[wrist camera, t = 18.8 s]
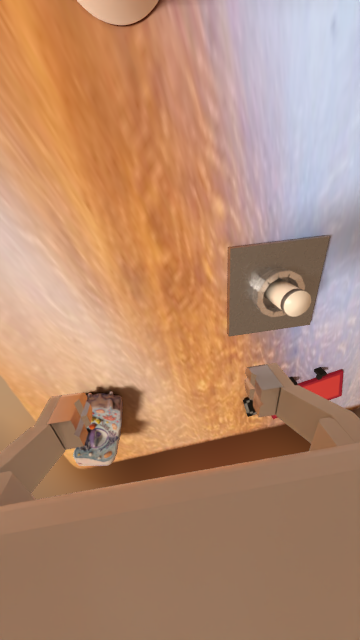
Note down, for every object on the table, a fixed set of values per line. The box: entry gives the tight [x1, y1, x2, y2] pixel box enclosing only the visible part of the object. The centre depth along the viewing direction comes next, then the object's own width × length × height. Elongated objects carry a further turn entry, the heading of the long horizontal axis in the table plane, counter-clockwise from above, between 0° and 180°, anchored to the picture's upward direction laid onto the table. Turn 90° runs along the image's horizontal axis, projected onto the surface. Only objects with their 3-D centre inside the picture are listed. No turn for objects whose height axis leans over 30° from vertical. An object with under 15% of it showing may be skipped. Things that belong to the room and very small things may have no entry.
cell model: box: [73, 391, 123, 466], centre depth 54 cm, size 13×11×20 cm
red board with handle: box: [243, 367, 343, 419], centre depth 63 cm, size 30×3×15 cm
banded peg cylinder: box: [264, 278, 311, 317], centre depth 42 cm, size 5×5×8 cm
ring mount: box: [227, 235, 330, 336], centre depth 45 cm, size 20×20×4 cm
